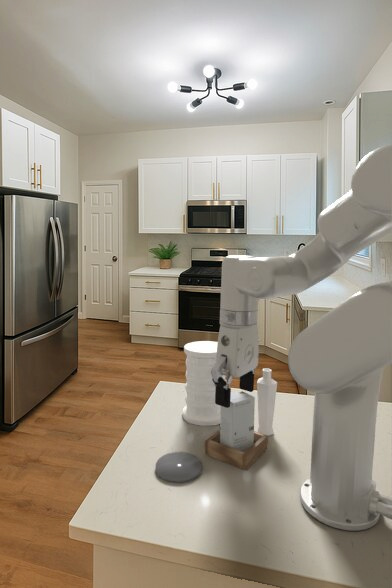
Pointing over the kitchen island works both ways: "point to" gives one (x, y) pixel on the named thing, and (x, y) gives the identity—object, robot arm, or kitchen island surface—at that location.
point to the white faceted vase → (266, 402)
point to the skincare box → (238, 422)
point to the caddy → (233, 455)
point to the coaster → (178, 467)
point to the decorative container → (201, 384)
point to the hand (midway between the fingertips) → (234, 397)
